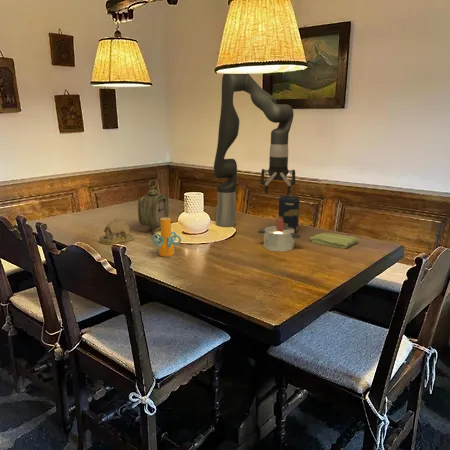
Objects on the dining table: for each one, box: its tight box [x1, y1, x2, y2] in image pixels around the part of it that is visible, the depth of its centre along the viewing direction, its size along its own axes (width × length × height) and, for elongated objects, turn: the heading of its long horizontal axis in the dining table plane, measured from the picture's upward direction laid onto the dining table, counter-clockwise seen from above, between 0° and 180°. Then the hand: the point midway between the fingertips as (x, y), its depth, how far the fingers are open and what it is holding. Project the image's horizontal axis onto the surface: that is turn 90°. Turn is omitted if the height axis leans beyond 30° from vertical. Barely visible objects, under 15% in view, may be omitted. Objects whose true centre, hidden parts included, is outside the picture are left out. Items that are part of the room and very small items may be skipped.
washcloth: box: [309, 232, 359, 250], centre depth 188 cm, size 13×18×3 cm
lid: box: [264, 217, 294, 236], centre depth 180 cm, size 12×12×6 cm
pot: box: [257, 228, 302, 252], centre depth 182 cm, size 18×12×7 cm
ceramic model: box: [99, 218, 134, 245], centre depth 191 cm, size 14×11×10 cm
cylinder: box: [151, 217, 182, 258], centre depth 171 cm, size 12×10×15 cm
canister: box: [278, 194, 300, 233], centre depth 203 cm, size 10×10×18 cm
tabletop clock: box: [137, 179, 169, 235], centre depth 203 cm, size 14×9×25 cm, turn 161°
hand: (277, 194), depth 178 cm, fingers open, 8 cm apart
